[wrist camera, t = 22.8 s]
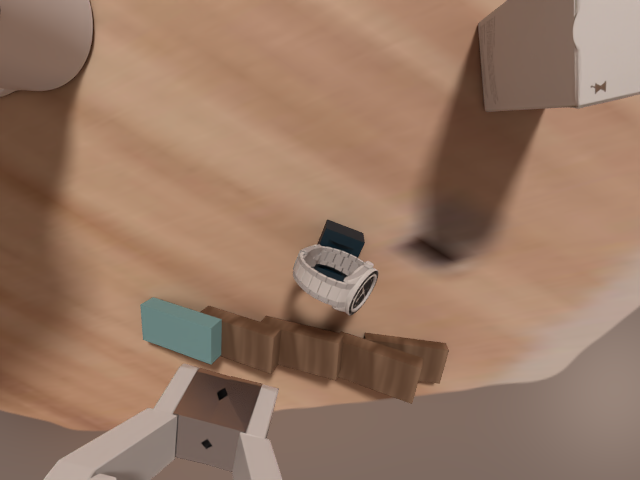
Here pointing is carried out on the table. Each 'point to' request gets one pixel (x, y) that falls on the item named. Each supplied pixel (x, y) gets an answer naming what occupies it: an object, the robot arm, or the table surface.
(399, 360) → the walnut domino
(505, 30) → the skincare box
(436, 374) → the walnut domino
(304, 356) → the walnut domino
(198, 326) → the teal domino
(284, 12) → the table surface
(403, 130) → the table surface
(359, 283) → the watch
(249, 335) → the walnut domino
